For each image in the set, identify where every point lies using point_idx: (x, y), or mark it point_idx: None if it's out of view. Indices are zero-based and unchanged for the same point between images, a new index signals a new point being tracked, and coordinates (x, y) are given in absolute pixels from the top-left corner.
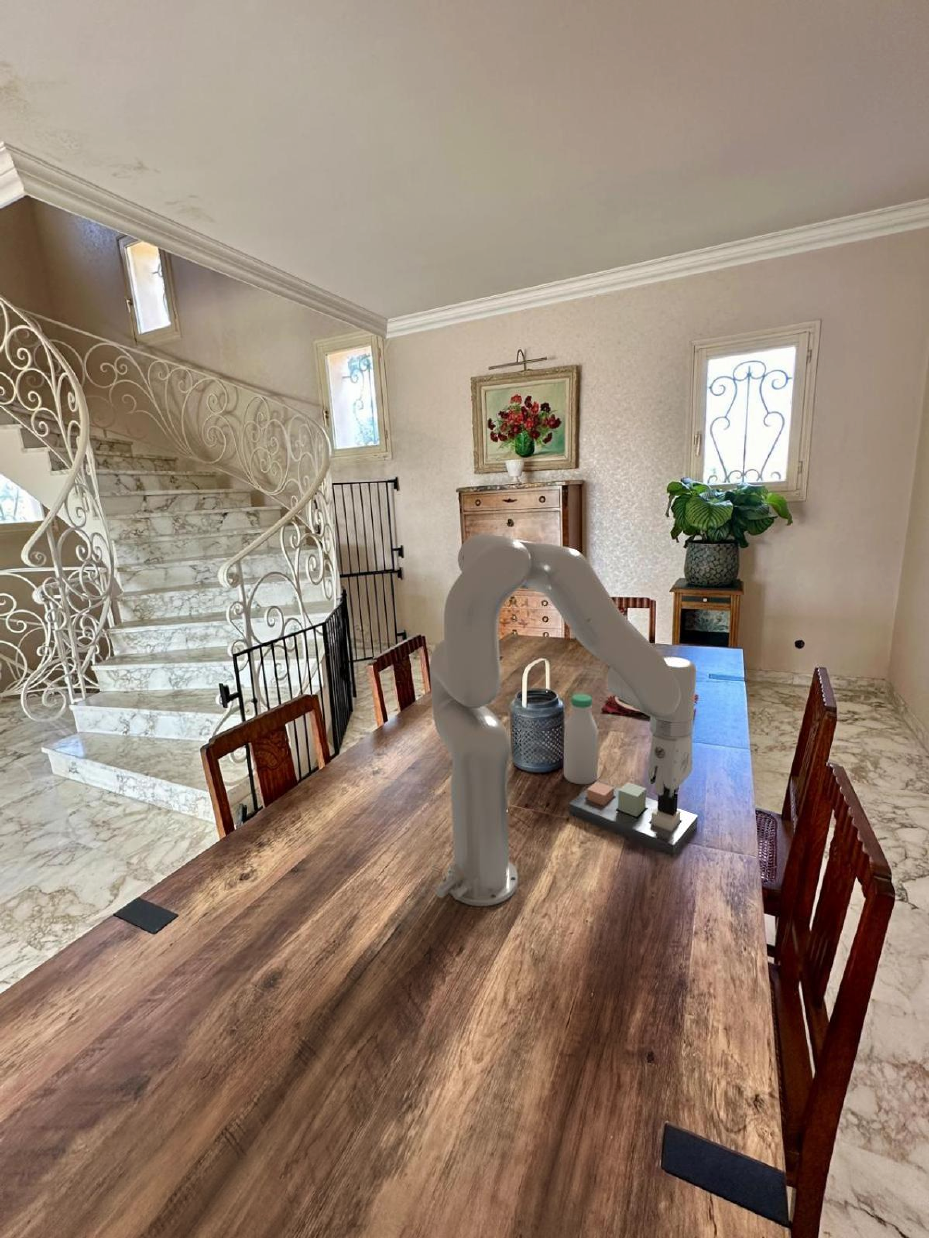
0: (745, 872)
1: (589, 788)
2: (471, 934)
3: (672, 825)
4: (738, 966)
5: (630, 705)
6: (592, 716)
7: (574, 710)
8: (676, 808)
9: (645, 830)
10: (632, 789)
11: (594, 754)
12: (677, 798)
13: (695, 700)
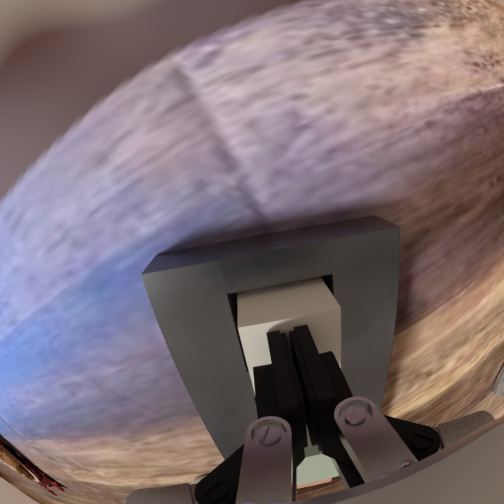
0: (270, 23)
1: (324, 481)
2: None
3: (323, 293)
4: (492, 19)
5: (24, 467)
6: None
7: None
8: (278, 343)
9: (379, 333)
10: (311, 470)
11: None
12: (279, 385)
13: None
